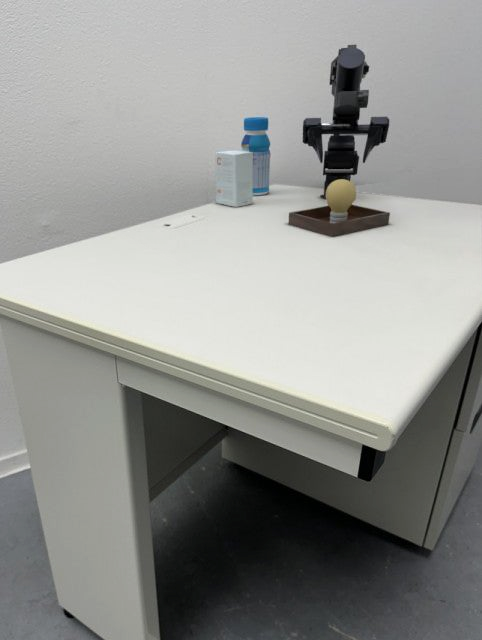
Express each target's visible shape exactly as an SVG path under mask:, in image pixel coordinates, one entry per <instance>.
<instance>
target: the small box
mask: <svg viewBox="0 0 482 640" xmlns="http://www.w3.org/2000/svg"><path fill="white" fill-rule="evenodd" d="M253 198H254V195H253V152H244V151H242V150H234V149H232V150H224V151H215V201H216V202H215V204H220V205H224V206H230V207H233V208H238V207H243V206H248V205H251V204H253Z"/></svg>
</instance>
